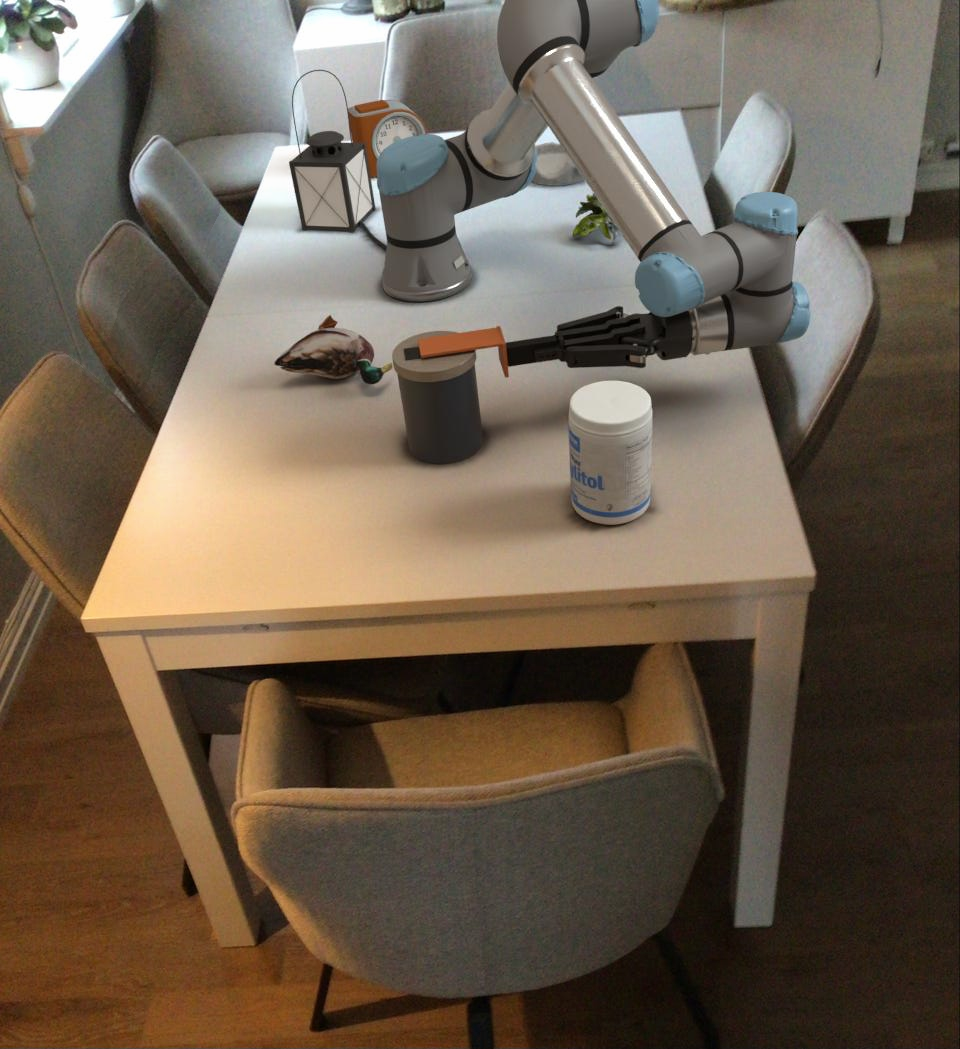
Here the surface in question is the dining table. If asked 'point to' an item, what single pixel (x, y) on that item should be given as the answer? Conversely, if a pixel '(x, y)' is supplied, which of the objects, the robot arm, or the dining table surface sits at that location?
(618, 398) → the supplement tub
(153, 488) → the dining table surface
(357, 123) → the alarm clock
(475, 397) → the travel mug
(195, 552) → the dining table surface
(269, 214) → the dining table surface
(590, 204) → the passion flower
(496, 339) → the lid slider
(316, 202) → the lantern
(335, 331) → the decorative duck model
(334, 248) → the dining table surface
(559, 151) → the dish
